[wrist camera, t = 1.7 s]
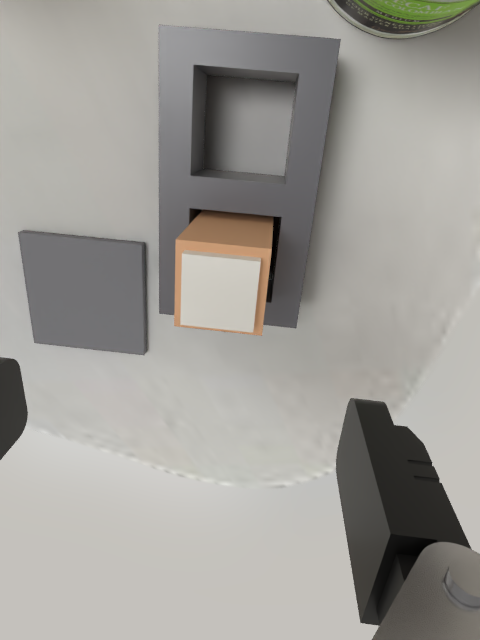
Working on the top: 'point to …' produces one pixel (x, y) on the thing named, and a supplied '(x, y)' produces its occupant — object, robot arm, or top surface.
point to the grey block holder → (238, 187)
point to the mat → (85, 291)
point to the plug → (223, 272)
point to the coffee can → (402, 15)
